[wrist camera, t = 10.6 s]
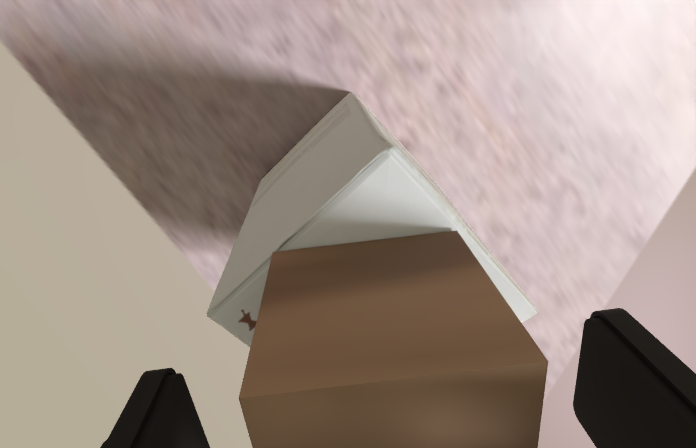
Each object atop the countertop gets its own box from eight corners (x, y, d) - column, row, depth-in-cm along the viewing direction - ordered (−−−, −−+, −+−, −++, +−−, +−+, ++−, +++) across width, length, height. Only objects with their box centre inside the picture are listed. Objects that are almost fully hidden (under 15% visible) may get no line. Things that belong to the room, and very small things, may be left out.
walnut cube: (272, 251, 11) (238, 398, 7) (456, 230, 11) (548, 361, 7) (300, 389, 13) (288, 574, 9) (456, 371, 13) (525, 544, 9)
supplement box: (346, 262, 26) (365, 442, 14) (256, 179, 23) (193, 317, 12) (440, 183, 24) (547, 317, 13) (354, 85, 22) (389, 139, 10)
